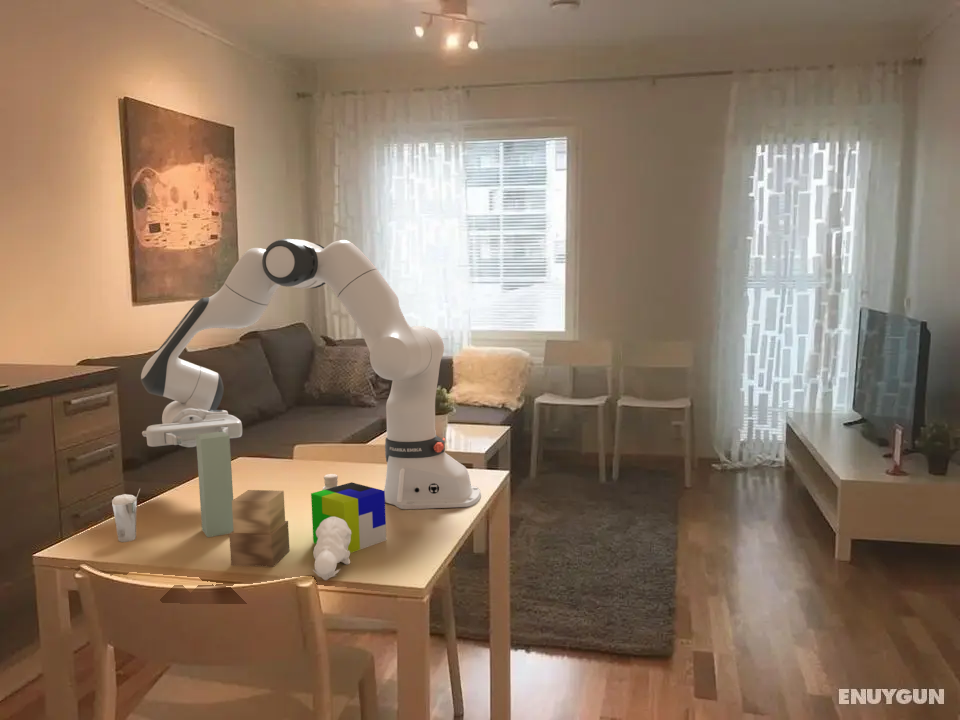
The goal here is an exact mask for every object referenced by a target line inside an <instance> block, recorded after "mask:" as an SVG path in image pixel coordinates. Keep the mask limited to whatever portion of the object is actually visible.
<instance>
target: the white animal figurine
mask: <svg viewBox="0 0 960 720" xmlns="http://www.w3.org/2000/svg"><path fill="white" fill-rule="evenodd" d="M316 536H317V538H318V540H317V544H315V546H314V547H313V551H312V552H313V553H312V554H313V558H314V559H315V561H314V569H312V571H313V572H314V573H315V575H316V576H317V577H319V578H321V579H323V580H324V581H328V580H329V579H330V578H332V577H333V578H334V577H338V575H337V574H338V573H339V572H340V571H341V568H339V569H336V568H337V565H338V564H339V563H340V562H341V563H343V564H344V565H350V563H351V560H350V555H351V553H350V551H349V550H348V545H349V544H350V541H351V530H350V529H349V527H348V525H347V523H346V521H344V520H343V519H340V518H338V517H329V518H327V519H325V520H323V521H322V522H321V523H320V525H319V527H318V528H317V530H316ZM347 550H348V551H347Z"/></svg>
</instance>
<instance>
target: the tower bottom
mask: <svg viewBox="0 0 960 720" xmlns="http://www.w3.org/2000/svg"><path fill="white" fill-rule="evenodd" d="M289 532H290V531H289V520H285V522H284V523H283V524H282V525H281V526H279V527H278V528H277V529H276V530H275V531H273V532H272V533H271V534H253V533H234V531H232V532H231V533H230V534H228V537H229V551H230V552H229V553H230V554H229V555H230V566H240V567H241V566H243V567H244V566H245V567H246V566H248V567H250V566H251V567H269V568H270V567H271V568H273V567H275V566H276V564H278V562H280V561H281V560H282V559H283V558H284V557H285V556H286V555H287V554H288V553H289V552H290V537H289V536H290V533H289Z"/></svg>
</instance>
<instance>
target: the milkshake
mask: <svg viewBox="0 0 960 720" xmlns="http://www.w3.org/2000/svg"><path fill="white" fill-rule="evenodd" d="M140 491H141V488H139V490H138V492H137V495H136V496H135V495H133V494H128V493H123V494H120V495H116V496H114V497H113V499H112V500H111V503H112V505H111V506H112V510H113V515H114V523H115V526H116V529H115V530H116V535H117V540H118V542H120V543H127V542H133V541H135V540H136V538H137V502H138V500H137V499H138V496H139V493H140Z"/></svg>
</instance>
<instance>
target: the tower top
mask: <svg viewBox="0 0 960 720" xmlns="http://www.w3.org/2000/svg"><path fill="white" fill-rule="evenodd" d="M285 507H286V506H285V492H284V490H275V489H274V490H273V489H272V490H269V489H268V490H263V489H248V490H247V489H246V491H244V492H243V493H241V494H240V495H238V496H236V498H233V500H232V514H233V530H234V533H253V534H271V533H272V532H273V531H275V530H276V529H277V528H278V527H279V526H281V525H282V524H283V523H284V522H285V521H286V512H285Z"/></svg>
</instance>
